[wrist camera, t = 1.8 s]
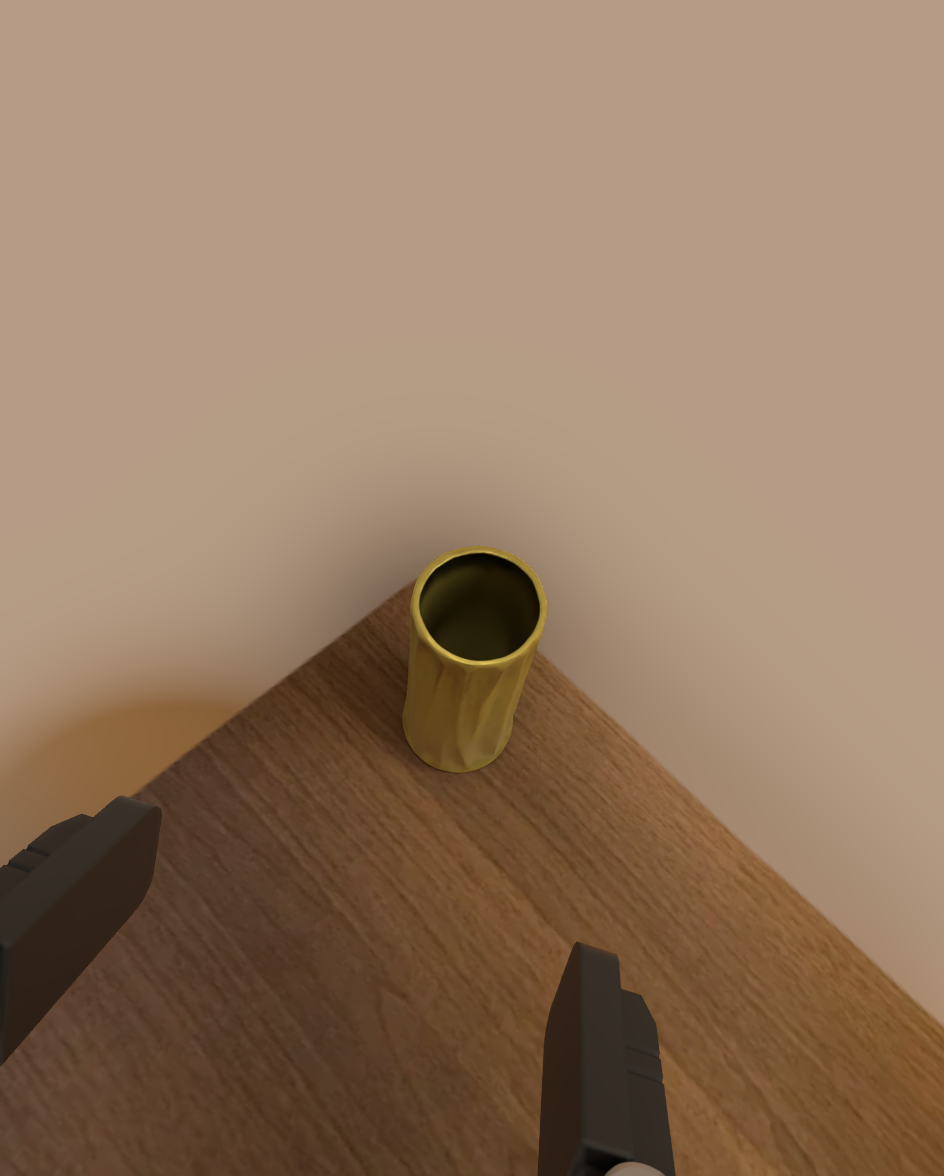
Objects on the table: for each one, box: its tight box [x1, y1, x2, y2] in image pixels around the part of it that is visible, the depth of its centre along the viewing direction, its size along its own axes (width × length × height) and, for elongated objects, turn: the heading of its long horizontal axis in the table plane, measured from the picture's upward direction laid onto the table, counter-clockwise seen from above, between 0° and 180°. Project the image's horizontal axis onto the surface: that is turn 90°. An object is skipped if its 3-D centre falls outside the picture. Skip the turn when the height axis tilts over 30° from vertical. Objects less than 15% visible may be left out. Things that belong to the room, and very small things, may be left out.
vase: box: [402, 546, 547, 773], centre depth 33 cm, size 6×6×14 cm
